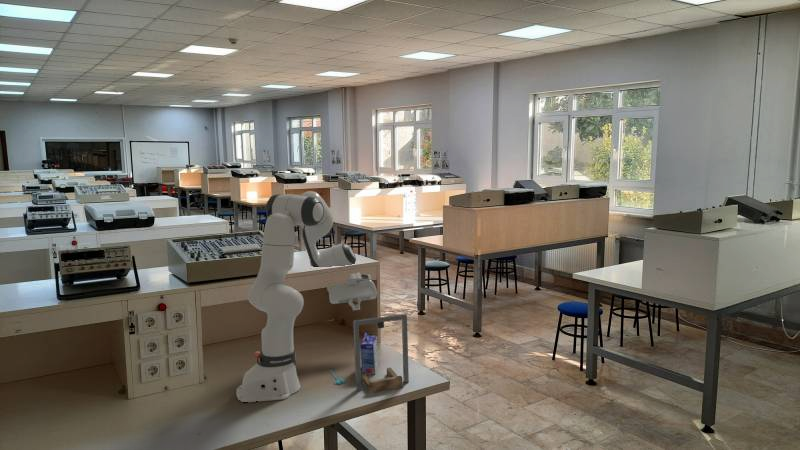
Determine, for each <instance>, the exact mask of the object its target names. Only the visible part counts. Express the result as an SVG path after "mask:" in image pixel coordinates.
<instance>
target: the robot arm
mask: <svg viewBox="0 0 800 450" xmlns="http://www.w3.org/2000/svg"><path fill="white" fill-rule="evenodd" d="M265 212H266V217H267V219H266V221H265V225H264V229H263V234H262V235H263V236H262V246H261V259H260V266H259V270H258V273H257V276H256V278H255V281H254V282H253V283H252V284H251V285H250V286H249V288H248V291H247V300H248V302H249V303H250V304H251V305H252V306H253V307H254V308H255V309H257V310H258V311H262V312H263V313H266V315H267V321H266V324H265V326H264V327H263V328H262V329H261V333H260V334H261V336H260V337H261V338H260V339H261V352H260V351H258V350H257V351H255V352H254V356H255V358H256V362H257V363H255V365H253V366H252V367H251V368H250V369H249V370H247V371H246V372H245V374H244V375H243V378H242V381H241V382H242V383H241V384H240V385H239V386H238V387H236V392H235V396H237V397H236V399H237V398H238V399H237V400H238V401H239V400H240V401H242V402H248V403H256V401H258V402H268V401H279V400H286V399H288V398H289V397H290V396H291V395H293V394H295V393H296V392H298V391H299V390H300V389H301V383H300V380H299V377H298V373H297V367H296V364H297V355H296V349H295V346H294V326H295V321H296V319H297V317H298V316H299V315H300V313H301V312H302V310H303V307H304V303H305V301H304V297H303V295H302V294H301V292H299V291H298V290H296V289H295V288H293V287H292V286H289V285H285V283H284V282H285V279H286V276H287V274H288V272H289V271H291V270H292V269H293V267H294V260H295V259H294V258H295V243H296V242H295V241H296V234H295V226H304V227H303V228H302V230H301V231H302V232H301V233H302V239H303V242H304V246H305V250H306V253H307V255H308V258H309V264H310V267H311V266H313V267H332V266H345V265H352V264H355V262H356V263H357V258H356V254H355V250H354V248H353V247H352V246H351V245H350V244H347V243H345V242H343V243H339V244H336V245H332V246H331V247H327V248H325V249H323V250H318V248H317V246H316V243H317V242H318V241H319V240H321V239H322V238H324V237H325V236H326V235H328V234H329V233H330V232H331V230H332V229H333V226H334V222H335V221H334V217H333V213H332V211H331V209H330V207H329V206H328V204H327V202H325V200H324V198H323V197H322V196H321V195H320V194H319V193H318V192H316V191H313V190H308V191H305V192H303V193H302V194H296V193H295V194H294V193H293V194H291V193H289V194H286V193H285V194H283V193H277V194H274V195H271V196H270V197H269V198H268V200H267V201H266V205H265ZM360 273H361V272H358V273H356V274H354V273H353V274H350V275H349V276H348V277H347V280H346V281H349V282H347V283H346V284H340V285H334V286H329V287H327V286H326V291H327V292H328V297H329V298H328V299H329V303H331V304H332V305H333V304H334V305H336V304H342V303H343V304H344V303H348V305H349V306H350V307H351V308H352V311H360V310H361V302H362V301H370V300H375V299H376V298H377V296H378V290H377V286H376V284H375V283H374V282H373V280H371V279H372V275H371V274H367V273H362V274H360ZM353 302H356V303H357V304H354V303H353ZM240 401H239V402H240ZM242 402H241V403H242ZM258 402H257V403H258Z"/></svg>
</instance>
